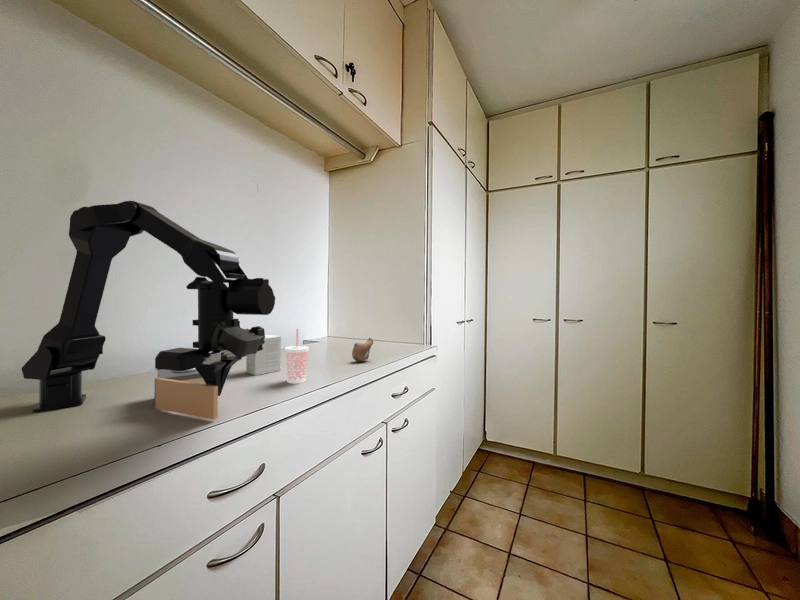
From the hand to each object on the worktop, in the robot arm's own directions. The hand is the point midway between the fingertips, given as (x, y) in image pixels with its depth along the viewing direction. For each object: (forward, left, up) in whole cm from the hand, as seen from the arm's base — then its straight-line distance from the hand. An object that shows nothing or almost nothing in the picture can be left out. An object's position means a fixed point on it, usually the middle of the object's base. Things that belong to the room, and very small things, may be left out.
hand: (216, 396), depth 58 cm
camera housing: (-14, -3, -4) cm, 15 cm away
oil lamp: (-23, +49, -4) cm, 54 cm away
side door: (-4, -5, -3) cm, 7 cm away
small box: (-28, +17, -4) cm, 33 cm away
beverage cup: (-13, +21, -4) cm, 25 cm away
